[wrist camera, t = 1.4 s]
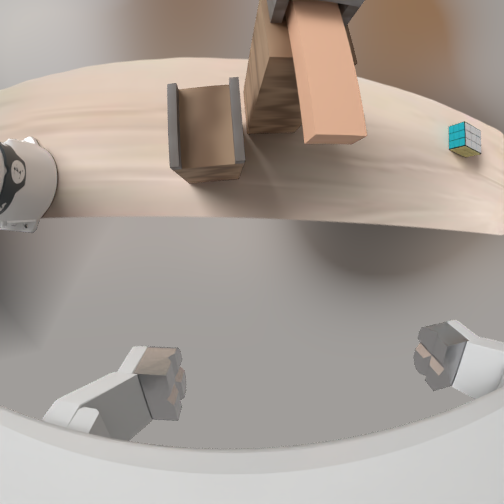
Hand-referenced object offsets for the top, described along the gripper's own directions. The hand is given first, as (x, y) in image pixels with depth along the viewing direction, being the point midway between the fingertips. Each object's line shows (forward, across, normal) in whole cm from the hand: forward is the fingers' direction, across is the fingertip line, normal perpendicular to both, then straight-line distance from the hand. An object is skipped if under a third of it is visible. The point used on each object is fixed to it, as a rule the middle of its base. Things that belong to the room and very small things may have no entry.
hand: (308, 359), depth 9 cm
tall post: (+42, +3, +17) cm, 46 cm away
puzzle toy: (+46, +44, +15) cm, 66 cm away
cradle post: (+41, -7, +11) cm, 43 cm away
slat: (+16, +5, +17) cm, 24 cm away
